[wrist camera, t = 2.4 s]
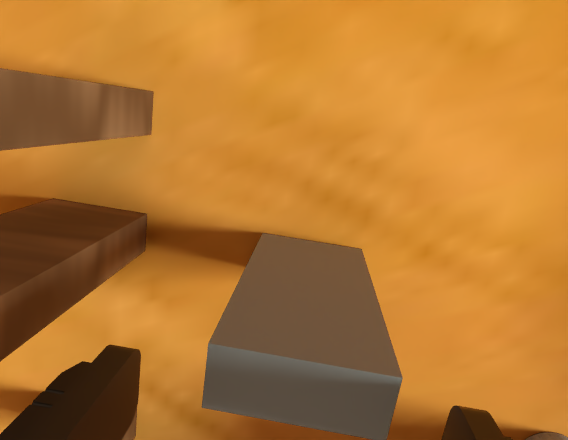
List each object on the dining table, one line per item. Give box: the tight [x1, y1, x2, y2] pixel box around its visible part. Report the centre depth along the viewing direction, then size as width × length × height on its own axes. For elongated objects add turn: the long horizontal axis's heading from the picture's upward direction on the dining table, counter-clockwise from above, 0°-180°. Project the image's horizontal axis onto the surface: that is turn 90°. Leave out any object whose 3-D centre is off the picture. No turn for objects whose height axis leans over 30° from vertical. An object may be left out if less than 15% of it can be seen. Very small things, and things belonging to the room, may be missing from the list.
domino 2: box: [0, 199, 147, 361], centre depth 16 cm, size 2×5×10 cm, turn 82°
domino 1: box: [0, 68, 153, 151], centre depth 14 cm, size 2×5×10 cm, turn 82°
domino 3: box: [202, 233, 402, 440], centre depth 15 cm, size 2×5×10 cm, turn 82°
